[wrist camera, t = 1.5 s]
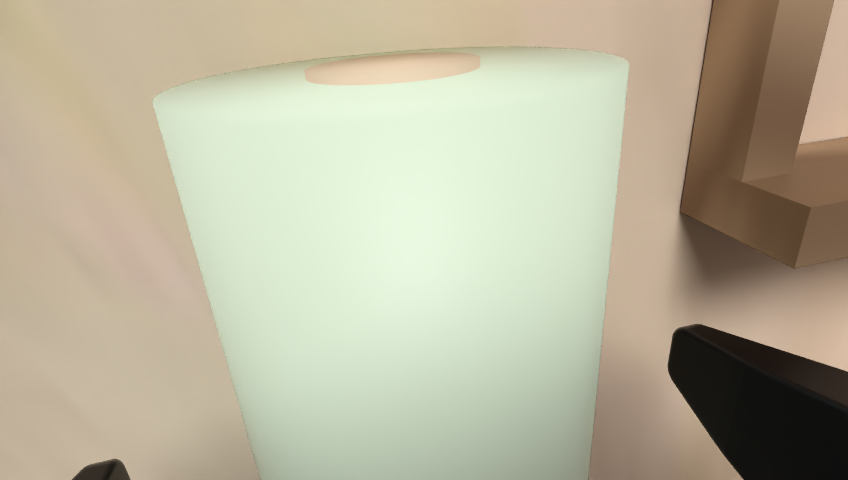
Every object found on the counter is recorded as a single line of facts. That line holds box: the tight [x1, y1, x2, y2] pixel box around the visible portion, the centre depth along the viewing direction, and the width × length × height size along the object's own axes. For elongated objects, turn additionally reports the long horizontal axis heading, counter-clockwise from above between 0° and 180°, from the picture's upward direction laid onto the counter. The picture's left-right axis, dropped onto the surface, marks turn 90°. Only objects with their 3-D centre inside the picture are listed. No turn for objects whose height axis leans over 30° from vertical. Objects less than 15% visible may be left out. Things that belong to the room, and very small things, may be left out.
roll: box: [153, 47, 629, 480], centre depth 9 cm, size 10×6×6 cm, turn 5°
